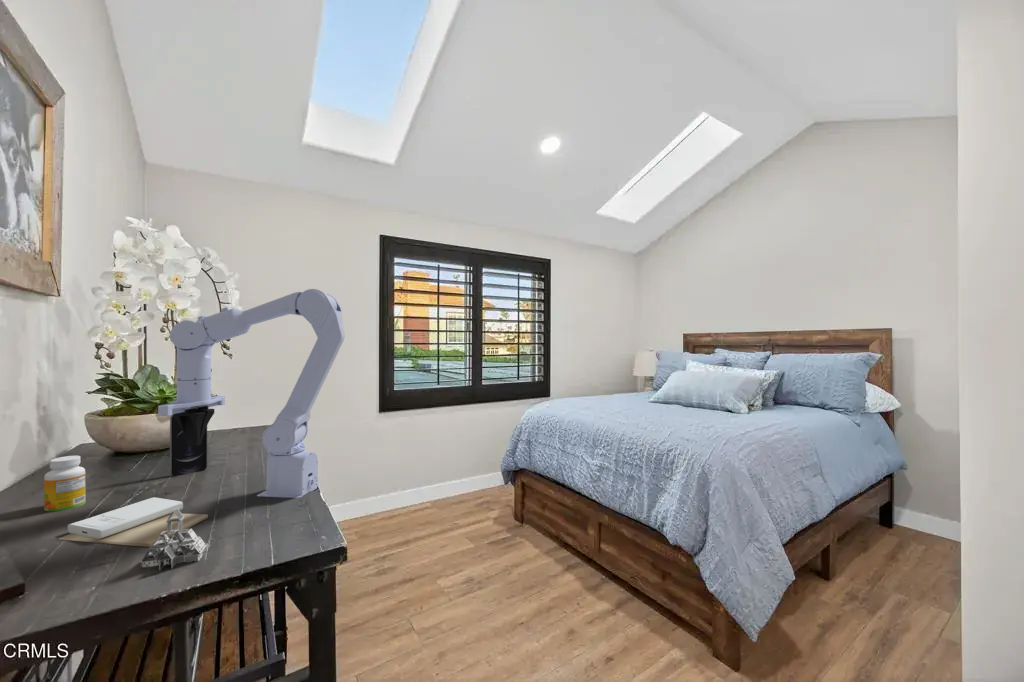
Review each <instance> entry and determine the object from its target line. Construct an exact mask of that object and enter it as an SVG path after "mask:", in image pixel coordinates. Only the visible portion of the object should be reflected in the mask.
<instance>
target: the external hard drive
mask: <svg viewBox="0 0 1024 682" xmlns="http://www.w3.org/2000/svg"><path fill="white" fill-rule="evenodd" d="M176 508H178V510H179V511H182V510H183V509H184V503H183V502H182V501H180V500H174V499H173V500H172V499H167V498H161V497H150V498H147V499H144V500H140V501H137V502H135V503H131V504H129V505H125V506H123V507H119V508H115V509H113V510H110V511H106V512H103V513H101V514H98V515H94V516H92V517H88V518H86V519H85V518H84V519H81V520H79V521H75V522H72V523H69V524H67V533H69V534H76V535H81V536H85V537H91V538H95V539H101V538H104V537H107V536H110V535H113V534H116V533H118V532H121V531H124V530H127V529H130V528H132V527H135V526H138V525H140V524H143V523H146V522H149V521H151V520H154V519H157V518H160V517H162V516H165V515H168V514H171V513H172V512H173V511H174V510H175V509H176Z"/></svg>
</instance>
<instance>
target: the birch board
mask: <svg viewBox="0 0 1024 682" xmlns="http://www.w3.org/2000/svg"><path fill="white" fill-rule="evenodd" d="M181 514H182V515H183V516H184V518H183V519H182V530H183V529H190V528H192V526H195V525H197V524H198V523H201V522H202V521H205V520H206V519H208V517H209V515H208V514H205V513H203V514H201V513H183V512H181ZM170 515H171V514H168V515H165V516H162V517H160V518H157V519H154V520H151V521H149V522H146V523H143V524H140V525H138V526H135V527H132V528H130V529H127V530H124V531H121V532H118V533H116V534H113V535H110V536H107V537H104V538H101V539H95V538H91V537H85V536H81V535H76V534H71V533H69V534H66V535H64V536H61V537H59V538H58V540H61V541H75V542H87V543H99V544H110V545H122V546H134V547H147V548H148V547H149V548H151V547H152V546H153V544H154V543H155V541H156V540H157V538H158V537H159V535H160V534H161V533H162V532H163V531H167V522H166V521H167V520H168V518H169V516H170ZM171 518H178V517H177V516H176V514H175V513H173V515H172V517H171ZM171 518H170V519H171ZM172 530H178V521H175V522H172ZM166 535H167V536H168V538H169V539H170V538H171V537H172V536H173V534H166ZM159 540H162V539H161V537H160V538H159ZM159 540H158V541H159Z"/></svg>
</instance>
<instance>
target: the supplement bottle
mask: <svg viewBox="0 0 1024 682" xmlns="http://www.w3.org/2000/svg"><path fill="white" fill-rule="evenodd" d="M81 463H82V462H81V456H80V455H67V456H66V455H65V456H61V457H56V458H52V459H50V460H49V469H51V470H50V471H48V472H46V473H45V474H44V478H43V480H44V481H43V485H44V486H43V506H44V507H43V510H44V511H46V512H58V511H67V510H70V509H71V510H72V509H75V508H78V507H81V506H83V505H85V504H86V469H85V468H84V467H82V466H80V464H81Z"/></svg>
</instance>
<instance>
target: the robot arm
mask: <svg viewBox="0 0 1024 682" xmlns="http://www.w3.org/2000/svg"><path fill="white" fill-rule="evenodd" d="M220 310H221V311H220V312H217V313H213V314H211V315H207V316H205V315H200V316H198V317H197V320H196V321H194V320H187V319H184V320H182V321H180V322H179V323H176V324H175V325H174V326H173V327H172V328H171V331H170V332H169V333H170V336H169V337H170V341H171V343H172V344H173V345H174V346H175V347H176V400H173V401H172V402H169V403H165V404H160V405H158V406H157V407H158V409H157V410H158V411H157V415H158V417H168V416H170V417H171V415H173V417H174V419H175V420H176V421H177V422H178V424H179V426H180V427H181V429H182V432H183V434H184V437H185V440H186V443H187V446H197V445H200V444H201V443H202V439H203V436H204V433H205V430H206V427H207V428H208V425H209V422H210V421H211V418H213V416H214V414H215V408H212V407H218V406H224V405H225V404H226V403H225V402H226V399H225V398H226V397H225V396H223V395H216V396H215V395H214V396H212V348H213V346H214V345H215V344H218V343H220V342H224V341H226V340H229V339H233V338H237V337H239V336H243V335H245V334H247V333H248V332H249V330H250V328H251V327H252V326H253V325H256V324H260V323H262V322H267V321H271V320H273V319H274V320H275V319H278V318H280V317H284V316H287V315H295V316H301V317H303V318H304V319H305V320H306V321H307V322H308V323H309V324H310V325H311V328H312V329H313V331H314V333H315V335H316V337H317V338H316V341H315V343H314V346H313V347H312V350H311V351H310V354H309V356H308V358H307V359H306V362H305V364H304V366H303V368H302V370H301V373H300V375H299V377H298V379H297V380H296V383H295V384H294V388H293V389H292V391H291V393H290V396H289V397H288V400H287V401H286V404H285V405H284V407H282V409H281V410H280V412H279V413H278V414H277V416H276V418H275V420H274V421H273V423H272V424H271V425H269V426H268V427H267V428H266V429H265V430H264V431H263V434H262V437H261V442H262V445H263V447H264V449H265V450H266V490H264V491H262V492H261V493H258V494H257V495H256V496H257V497H267V498H270V497H271V498H290V499H291V498H297V499H298V498H302V497H304V496H305V495H306V494H307V493H310V492H313V491H315V490H316V489H318V488H320V486H321V485H320V484H319V464H318V463H319V460H318V456H317V454H316V453H315V452H313V451H308V450H306V448H305V447H306V446H305V443H304V442H303V441H304V440H305V438H306V437H307V435H308V431H309V429H308V423H309V421H310V419H311V410H312V408H313V405H315V402H316V400H317V397H318V396H319V394H320V391H321V389H322V387H323V385H324V383H325V381H326V378H328V377H327V376H328V374H329V373H330V370H331V368H332V366H333V364H334V361H335V360H336V358H337V355H338V353H339V351H340V349H341V347H342V344H343V343H344V341H345V329H344V321H343V309H342V308H341V306H340V304H339V303H338V301H337V299H336V297H334V296H333V295H331V294H329V293H325V292H323V291H322V290H320V289H316V288H309V289H305V290H304V291H297V292H296V291H295V292H292V293H290V294H287V295H284V296H282V297H278V298H276V299H273V300H270V301H268V302H264V303H263V304H259V305H257V306H255V307H252V308H249V309H246V310H241V309H239V308H237V307H232V308H231V307H230V306H229V307H228V306H225V307H223V308H221V309H220ZM210 407H211V408H210ZM316 484H317V485H316ZM317 486H318V488H317Z"/></svg>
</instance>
